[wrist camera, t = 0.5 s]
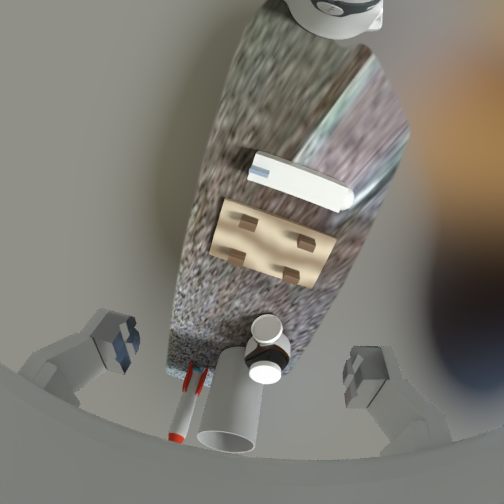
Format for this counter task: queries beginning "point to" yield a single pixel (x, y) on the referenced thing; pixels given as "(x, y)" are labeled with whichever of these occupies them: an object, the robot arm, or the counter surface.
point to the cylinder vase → (231, 405)
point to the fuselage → (300, 182)
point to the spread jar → (267, 350)
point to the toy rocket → (187, 403)
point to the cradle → (270, 244)
